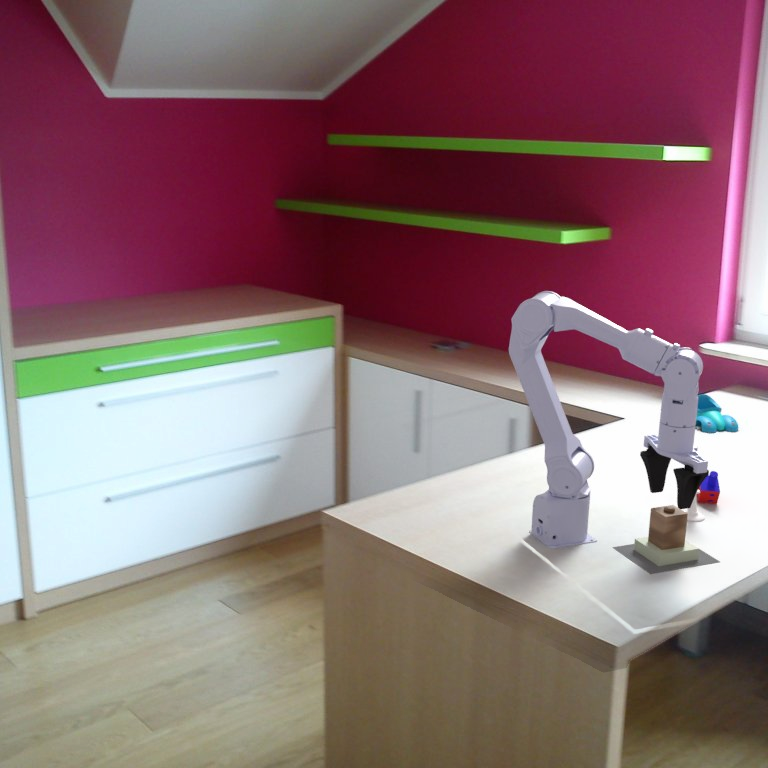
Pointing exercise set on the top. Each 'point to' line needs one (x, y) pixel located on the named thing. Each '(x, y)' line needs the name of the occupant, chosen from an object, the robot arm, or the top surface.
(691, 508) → the chess piece
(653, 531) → the walnut snap block
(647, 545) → the base block
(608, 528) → the top surface
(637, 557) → the build mat
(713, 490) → the toy building block
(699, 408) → the toy car
